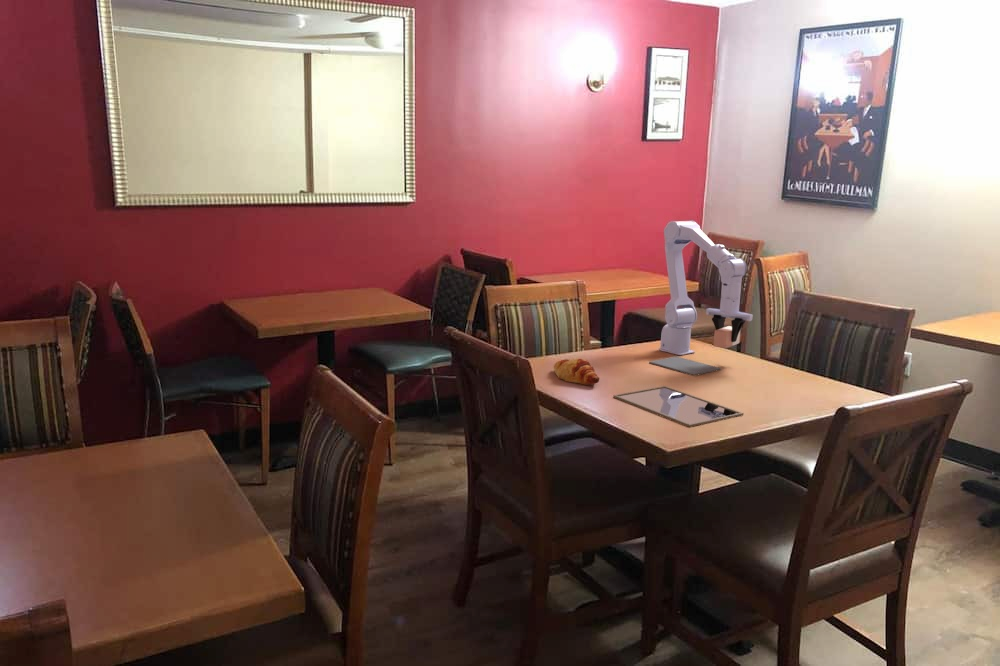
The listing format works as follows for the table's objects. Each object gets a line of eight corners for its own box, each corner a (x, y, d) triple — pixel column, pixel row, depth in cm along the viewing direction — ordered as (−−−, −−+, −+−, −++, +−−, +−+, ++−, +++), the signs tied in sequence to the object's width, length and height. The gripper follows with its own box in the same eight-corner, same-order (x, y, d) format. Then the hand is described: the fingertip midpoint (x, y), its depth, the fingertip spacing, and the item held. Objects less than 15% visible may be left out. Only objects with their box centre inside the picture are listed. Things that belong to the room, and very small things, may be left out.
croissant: (547, 382, 236) (537, 361, 233) (571, 364, 240) (562, 343, 237) (590, 399, 218) (580, 377, 215) (615, 379, 222) (605, 357, 219)
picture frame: (743, 416, 198) (664, 389, 221) (743, 413, 198) (665, 386, 221) (689, 429, 188) (613, 398, 211) (689, 425, 188) (613, 395, 211)
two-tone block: (713, 346, 242) (714, 330, 241) (727, 341, 250) (728, 325, 249) (725, 348, 240) (726, 332, 239) (739, 343, 247) (740, 327, 246)
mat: (649, 363, 248) (649, 361, 248) (676, 357, 256) (676, 356, 256) (694, 375, 234) (694, 374, 234) (721, 369, 242) (721, 368, 242)
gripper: (702, 296, 243) (699, 338, 246) (747, 302, 234) (743, 346, 237) (713, 293, 249) (709, 335, 252) (756, 299, 239) (752, 342, 242)
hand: (726, 340), depth 245 cm, fingers closed on two-tone block, 4 cm apart
